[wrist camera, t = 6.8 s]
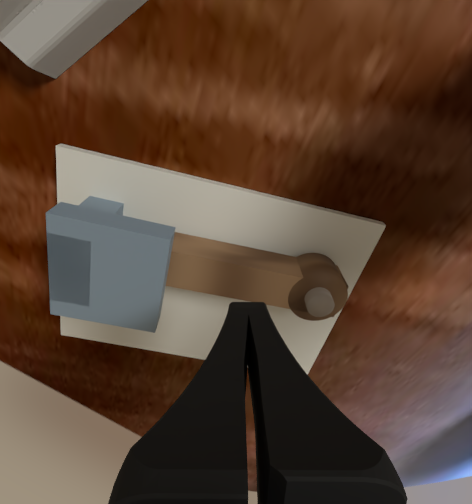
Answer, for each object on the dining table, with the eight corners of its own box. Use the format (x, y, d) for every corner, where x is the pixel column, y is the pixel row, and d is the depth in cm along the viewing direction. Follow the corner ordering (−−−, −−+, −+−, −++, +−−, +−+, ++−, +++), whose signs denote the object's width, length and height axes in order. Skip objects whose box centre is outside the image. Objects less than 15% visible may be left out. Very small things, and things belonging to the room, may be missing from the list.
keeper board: (382, 221, 21) (428, 268, 16) (304, 371, 27) (319, 436, 23) (60, 143, 18) (-4, 169, 13) (64, 329, 25) (23, 391, 20)
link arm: (345, 258, 21) (362, 287, 18) (325, 301, 22) (338, 334, 20) (147, 217, 19) (132, 241, 17) (142, 266, 21) (128, 296, 18)
